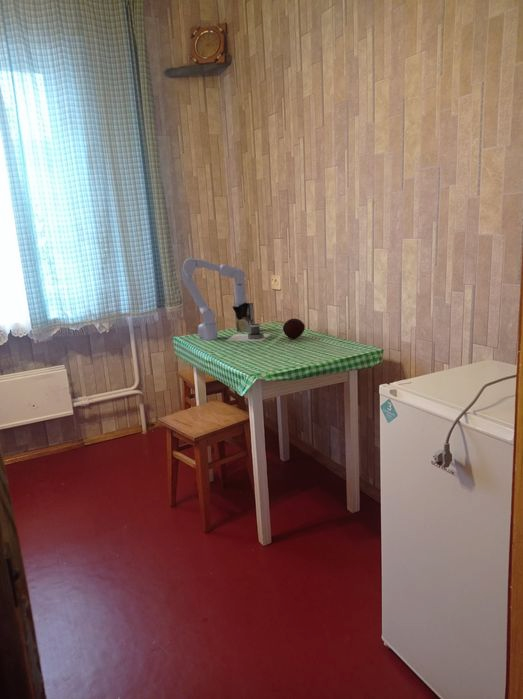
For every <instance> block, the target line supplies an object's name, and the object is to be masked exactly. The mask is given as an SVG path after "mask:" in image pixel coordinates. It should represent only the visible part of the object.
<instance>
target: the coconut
mask: <svg viewBox="0 0 523 699" xmlns="http://www.w3.org/2000/svg"><path fill="white" fill-rule="evenodd" d="M305 328H306V326H305V324H304V322H303V321H302V320H300V319H298V318H290V319H288V320H286V322H285V323H284V324H283V326H282V331H283V333H284V334H285V336H286V337H287V338H289V339H290V340H296V339H298V338H299V337H301V336H302V335H303V333H304V331H305Z"/></svg>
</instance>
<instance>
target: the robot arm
mask: <svg viewBox="0 0 523 699" xmlns="http://www.w3.org/2000/svg"><path fill="white" fill-rule="evenodd" d="M202 268H203V269H208V270H210V271H214V272H218V274H219V275H220V276H223V277H226V278H229V279H234V284H233V288H234V305H233V306H232V309H233V310H234V313H236V314H235V317H236V316H237V319H238V320H242V317H246V316H247V310H248V306H249V303H250V302H249V300H248V299H247V294H246V293H247V292H246V282H245V280H246V279H245V277H246V275H245V271H243V270H242V269H241V268H238V267H236V266H231V265H228V263H222V264H217V263H213V262H210V261H207V260H204V259H201V258H194V257H188V258H186V259H185V260H184V262H183V265H182V267H181V270H182V271H181V279H182V282H183V283H184V285H185V287H186V289H187V291H188V292H189V294H190V295H191V298H192V299H193V301H194V303H195V304H196V306H197V308H198V309H199V311H200V313H201V316H202V321H203V322H202V323H199V324H198V326H197V327H198V328H197V329H198V341H201V340H202V341H205V340H206V341H213V340H217V339H218V338H219V336H218V326H217V325H218V324H217V321H216V313H215V311H214V310H212V309H211V308H210V306H209V304H207V302H206V300H205V298H204V296H203V294H202V292H200V290H199V288H198V286H197V285H196V282H195V281H194V279H193V276H194V271H195V270H196V269H202Z"/></svg>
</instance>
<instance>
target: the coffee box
mask: <svg viewBox="0 0 523 699" xmlns="http://www.w3.org/2000/svg"><path fill="white" fill-rule="evenodd" d="M248 303H249V306H248V310H247V316H246V317H242V320H238V319H237V316H236V313H235V312H234V313H235V324H236V326H235V327H236V332H237V333H251V324H256V323H255V312H254V311H255V310H254V303H253V302H248Z"/></svg>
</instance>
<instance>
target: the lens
mask: <svg viewBox="0 0 523 699" xmlns="http://www.w3.org/2000/svg"><path fill="white" fill-rule="evenodd" d="M260 330H261V328H260V323H255V324H251V332H250V333H251V335H260V333H261V331H260Z"/></svg>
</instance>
